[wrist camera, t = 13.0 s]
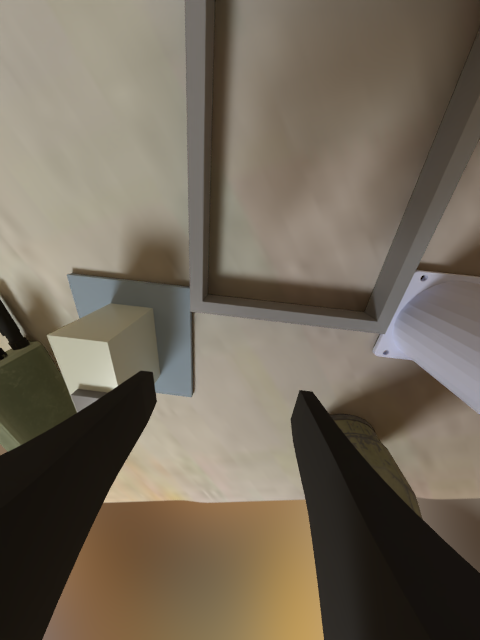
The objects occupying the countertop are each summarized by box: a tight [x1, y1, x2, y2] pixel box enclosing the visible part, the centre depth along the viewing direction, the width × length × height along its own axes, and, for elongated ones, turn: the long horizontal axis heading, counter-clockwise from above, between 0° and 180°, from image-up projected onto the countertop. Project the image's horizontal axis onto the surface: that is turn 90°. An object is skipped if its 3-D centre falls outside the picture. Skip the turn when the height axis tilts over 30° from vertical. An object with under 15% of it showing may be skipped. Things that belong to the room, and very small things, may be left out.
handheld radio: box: [0, 300, 77, 451], centre depth 21 cm, size 7×3×25 cm
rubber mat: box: [67, 273, 193, 397], centre depth 20 cm, size 11×13×1 cm
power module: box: [47, 303, 160, 412], centre depth 16 cm, size 4×8×7 cm, turn 175°
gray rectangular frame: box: [185, 0, 480, 334], centre depth 12 cm, size 16×20×2 cm
